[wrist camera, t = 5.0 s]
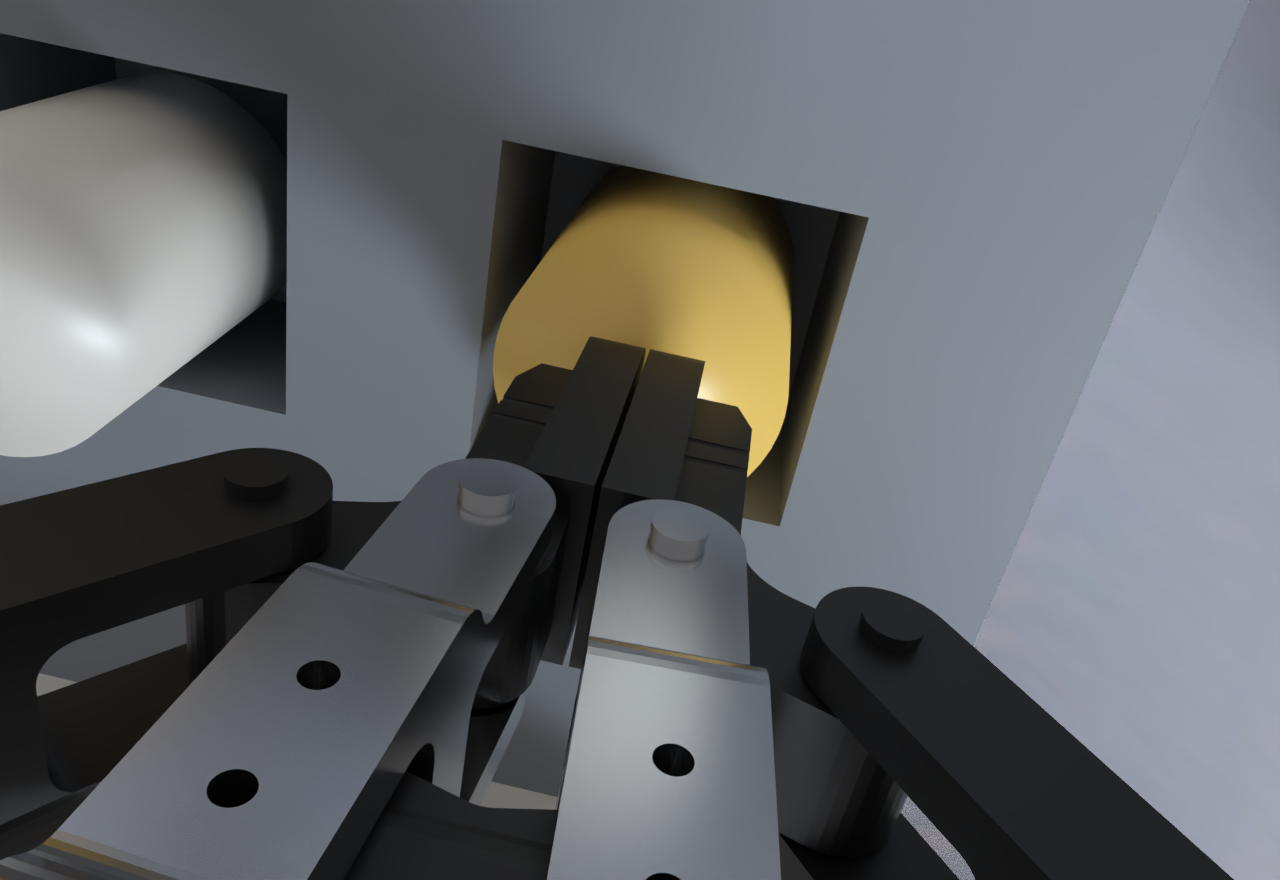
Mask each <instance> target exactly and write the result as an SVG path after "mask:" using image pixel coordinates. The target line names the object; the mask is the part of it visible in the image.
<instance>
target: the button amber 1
mask: <svg viewBox="0 0 1280 880" xmlns="http://www.w3.org/2000/svg"><path fill="white" fill-rule="evenodd" d="M793 269H794V258H793V247H792V242H791V238H790V234H789V230H788V228H787V225H786V222H785V220H784V217H783V216H782V214H781V212H780V210H779V208H778V206H777V205H776V203H775V202H774V201H773V199H772V198H771V197H770V196H765V195H760V194H755V193H751V192H746V191H741V190H737V189H732V188H727V187H723V186H718V185H713V184H708V183H704V182H699V181H694V180H690V179H685V178H680V177H675V176H671V175H666V174H661V173H657V172H652V171H647V170H642V169H638V168H633V167H628V166H624V165H622V166H620V167H618V168H616V169H615V170H613V171H612V172H611V173H609V174H608V175H607V176H606V177H604V178H603V179H602V180H601V181H600V182H599V183H598V184H597V185H596V186H595V187H594V188H593V189H592V190H591V192H590V193H589V195H588V196H587V197H586V199H585V200H584V202H583V203H582V204H581V206H580V207H579V209H578V210H577V211H576V213H575V214H574V216H573V217H572V218H571V220H570V221H569V223H568V224H567V225H566V227H565V228H564V230H563V231H562V232H561V234H560V235H559V237H558V238H557V239H556V241H555V242H554V244H553V245H552V246H551V248H550V249H549V251H548V252H547V253H546V255H545V256H544V258H543V259H542V260H541V262H540V263H539V265H538V266H537V267H536V269H535V270H534V272H533V273H532V274H531V276H530V277H529V279H528V280H527V281H526V283H525V284H524V285H523V287H522V288H521V290H520V291H519V292H518V294H517V295H516V297H515V298H514V299H513V301H512V302H511V304H510V306H509V308H508V310H507V312H506V314H505V315H504V317H503V319H502V322H501V325H500V328H499V331H498V334H497V338H496V343H495V349H494V357H493V376H494V387H495V392H496V396H497V400H498V404H499V403H500V401H501V400H503V396H504V394H505V393H506V391H507V389H508V388H509V386H510V385H511V383H512V381H513V380H514V378H515V377H516V376H517V375H519V374H521V373H523V372H525V371H527V370H529V369H531V368H533V367H535V366H537V365H539V364H541V363H543V364H547V365H552V366H556V367H561V368H565V369H570V370H573V369H574V367H575V365H576V363H577V361H578V359H579V357H580V355H581V353H582V351H583V349H584V347H585V345H586V343H587V341H588V339H589V337H590V336H593V337H598V338H602V339H607V340H611V341H616V342H620V343H625V344H629V345H634V346H638V347H643V348H646V354H645V361H644V365H645V362H646V359H647V356H648V354H649V351H650V349H653V350H657V351H662V352H666V353H671V354H675V355H680V356H684V357H689V358H693V359H698V360H702V361H705V365H704V370H703V374H702V379H701V383H700V387H699V392H698V396H697V398H701V399H705V400H710V401H714V402H719V403H723V404H728V405H732V406H737V407H738V408H739V409H740V411H741V412H742V414H743V416H744V417H745V419H746V420H747V422H748V424H749V425H750V427H751V428H752V436H751V445H750V452H749V463H748V471H747V477H748V476H749V475H750V474H751V473H752V472H753V471H754V470H755V469H756V468H757V467H758V466H759V465H760V464H761V462H762V461H763V460H764V458H765V457H766V455H767V454H768V453H769V451H770V450H771V448H772V446H773V444H774V443H775V441H776V439H777V437H778V435H779V433H780V430H781V427H782V424H783V421H784V418H785V414H786V409H787V404H788V396H789V374H790V348H791V321H792V295H793ZM643 368H644V366H643Z"/></svg>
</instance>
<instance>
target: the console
mask: <svg viewBox="0 0 1280 880" xmlns="http://www.w3.org/2000/svg"><path fill="white" fill-rule="evenodd" d="M1249 3H1250V0H0V111H3V110H7V109H10V108H14V107H18V106H21V105H25V104H29V103H32V102H36V101H39V100H43V99H47V98H50V97H54V96H57V95H61V94H65V93H68V92H72V91H75V90H79V89H83V88H86V87H90V86H94V85H97V84H101V83H104V82H108V81H112V80H115V79H119V78H122V77H126V76H130V75H134V74H140V73H147V72H164V73H171V74H178V75H182V76H186V77H189V78H193V79H196V80H198V81H201V82H203V83H206V84H208V85H210V86H212V87H214V88H216V89H218V90H219V91H221V92H223V93H225V94H226V95H228V96H229V97H231V98H232V99H234V100H235V101H236V102H238V103H239V104H240V105H242V106H243V107H244V108H245V109H246V110H247V111H248V112H250V113H251V114H252V115H253V116H254V117H255V118H256V119H257V120H258V121H259V122H260V123H261V125H262V126H263V127H264V128H265V129H266V130H267V131H268V133H269V134H270V135H271V137H272V138H273V140H274V141H275V142H276V144H277V145H278V147H279V148H280V150H281V152H282V154H283V155H284V157H285V159H286V161H287V282H286V283H285V284H284V286H283V287H282V288H281V289H280V290H279V292H277V293H276V294H275V295H274V296H273V297H272V298H271V299H270V300H268V301H267V302H266V303H264V304H263V305H262V306H260V307H259V308H258V309H257V310H255V311H254V312H253V313H251V314H250V315H249V316H247V317H246V318H245V319H243V320H242V321H241V322H240V323H238V324H237V325H236V326H234V327H233V328H232V329H230V330H229V331H228V332H226V333H225V334H224V335H223V336H221V337H220V338H219V339H217V340H216V341H215V342H213V343H212V344H211V345H209V346H208V347H207V348H206V349H204V350H203V351H202V352H200V353H199V354H198V355H196V356H195V357H194V358H193V359H191V360H190V361H189V362H187V363H186V364H185V365H183V366H182V367H181V368H179V369H178V370H177V371H176V372H174V373H173V374H172V375H170V376H169V377H168V378H166V379H165V380H164V381H162V382H161V383H160V384H159V385H157V386H156V387H155V388H153V389H152V390H151V391H149V392H148V393H147V394H145V395H144V396H143V397H142V398H140V399H139V400H138V401H136V402H135V403H134V404H132V405H131V406H130V407H128V408H127V409H126V410H125V411H123V412H122V413H121V414H119V415H118V416H117V417H115V418H114V419H113V420H111V421H110V422H109V423H108V424H106V425H105V426H104V427H102V428H101V429H100V430H98V431H97V432H96V433H94V434H93V435H92V436H91V437H89V438H88V439H86V440H85V441H83V442H81V443H80V444H78V445H76V446H75V447H72V448H70V449H67V450H65V451H62V452H59V453H55V454H50V455H46V456H37V457H10V456H3V455H0V505H4V504H9V503H13V502H17V501H21V500H25V499H29V498H33V497H38V496H42V495H46V494H50V493H54V492H58V491H62V490H67V489H71V488H75V487H79V486H83V485H87V484H92V483H96V482H100V481H104V480H108V479H112V478H116V477H121V476H125V475H129V474H133V473H137V472H141V471H145V470H150V469H154V468H158V467H162V466H166V465H170V464H174V463H179V462H183V461H187V460H191V459H195V458H199V457H204V456H208V455H212V454H216V453H220V452H224V451H230V450H235V449H244V448H273V449H280V450H286V451H290V452H294V453H298V454H301V455H303V456H306V457H308V458H310V459H312V460H314V461H316V462H317V463H319V464H320V465H321V466H322V467H324V468H325V470H326V471H327V472H328V473H329V475H330V477H331V479H332V483H333V501H357V502H393V501H402V500H403V499H404V498H405V496H406V495H407V494H408V493H409V492H410V490H411V489H412V488H413V487H414V486H415V484H416V483H417V482H418V481H419V480H420V479H421V477H422V476H423V475H424V474H425V473H427V472H428V471H429V470H431V469H432V468H434V467H436V466H438V465H441V464H443V463H446V462H450V461H454V460H460V459H465V458H466V456H467V455H468V453H469V452H470V450H471V448H472V447H473V445H474V443H475V442H476V440H477V438H478V437H479V435H480V434H481V432H482V430H483V429H484V427H485V425H486V424H487V422H488V420H489V419H490V417H491V416H493V414H494V411H495V409H496V407H497V406H498V400H497V396H496V392H495V387H494V376H493V357H494V349H495V343H496V338H497V334H498V331H499V328H500V325H501V322H502V319H503V317H504V315H505V314H506V312H507V310H508V308H509V306H510V304H511V302H512V301H513V299H514V298H515V297H516V295H517V294H518V292H519V291H520V290H521V288H522V287H523V285H524V284H525V283H526V281H527V280H528V279H529V277H530V276H531V274H532V273H533V272H534V270H535V269H536V267H537V266H538V265H539V263H540V262H541V260H542V259H543V258H544V256H545V255H546V253H547V252H548V251H549V249H550V248H551V246H552V245H553V244H554V242H555V241H556V239H557V238H558V237H559V235H560V234H561V232H562V231H563V230H564V228H565V227H566V225H567V224H568V223H569V221H570V220H571V218H572V217H573V216H574V214H575V213H576V211H577V210H578V209H579V207H580V206H581V204H582V203H583V202H584V200H585V199H586V197H587V196H588V195H589V193H590V192H591V190H592V189H593V188H594V187H595V186H596V185H597V184H598V183H599V182H600V181H601V180H602V179H603V178H604V177H606V176H607V175H608V174H609V173H611V172H612V171H613V170H615V169H616V168H618V167H620V166H622V165H624V166H628V167H633V168H638V169H642V170H647V171H652V172H657V173H661V174H666V175H671V176H675V177H680V178H685V179H690V180H694V181H699V182H704V183H708V184H713V185H718V186H723V187H727V188H732V189H737V190H741V191H746V192H751V193H755V194H760V195H765V196H770V197H771V198H772V199H773V201H774V202H775V203H776V205H777V206H778V208H779V210H780V212H781V214H782V216H783V217H784V220H785V222H786V225H787V228H788V230H789V234H790V238H791V242H792V247H793V258H794V269H793V295H792V321H791V348H790V374H789V396H788V404H787V409H786V414H785V418H784V421H783V424H782V427H781V430H780V433H779V435H778V437H777V439H776V441H775V443H774V444H773V446H772V448H771V450H770V451H769V453H768V454H767V455H766V457H765V458H764V460H763V461H762V462H761V464H760V465H759V466H758V467H757V468H756V469H755V470H754V471H753V472H752V473H751V474H750V475H749V476H748V477H747V482H746V491H745V500H744V509H743V518H742V528H741V537H742V539H743V541H744V543H745V547H746V557H747V563H748V564H749V566H750V567H751V568H752V570H753V571H754V572H755V573H756V574H757V575H758V576H759V577H760V578H762V579H763V580H764V581H765V582H767V583H768V584H769V585H770V586H772V587H774V588H775V589H777V590H778V591H780V592H782V593H784V594H786V595H788V596H789V597H791V598H793V599H796V600H798V601H800V602H802V603H804V604H807V605H809V606H811V607H813V608H815V609H816V607H817V605H818V603H819V601H820V600H821V599H822V598H823V597H824V596H825V595H827V594H829V593H830V592H832V591H835V590H838V589H841V588H847V587H860V586H863V587H874V588H879V589H884V590H888V591H892V592H895V593H898V594H901V595H903V596H906V597H908V598H911V599H913V600H915V601H917V602H919V603H921V604H922V605H924V606H926V607H927V608H929V609H930V610H932V611H933V612H934V613H936V614H937V615H938V616H939V617H941V618H942V619H943V620H944V621H945V622H947V623H948V624H949V625H950V626H951V627H952V628H953V629H954V630H955V631H957V632H958V633H959V634H960V635H961V636H962V637H963V638H964V639H965V640H967V641H968V642H969V643H970V644H971V645H972V646H973V643H974V641H975V639H976V636H977V634H978V632H979V629H980V627H981V625H982V622H983V620H984V618H985V615H986V613H987V611H988V608H989V606H990V604H991V602H992V599H993V597H994V595H995V592H996V590H997V588H998V585H999V583H1000V581H1001V578H1002V576H1003V574H1004V571H1005V569H1006V567H1007V564H1008V562H1009V560H1010V557H1011V555H1012V553H1013V550H1014V548H1015V546H1016V543H1017V541H1018V539H1019V537H1020V534H1021V532H1022V530H1023V527H1024V525H1025V523H1026V520H1027V518H1028V516H1029V513H1030V511H1031V509H1032V506H1033V504H1034V502H1035V499H1036V497H1037V495H1038V492H1039V490H1040V488H1041V485H1042V483H1043V481H1044V478H1045V476H1046V474H1047V472H1048V469H1049V467H1050V465H1051V462H1052V460H1053V458H1054V455H1055V453H1056V451H1057V448H1058V446H1059V444H1060V441H1061V439H1062V437H1063V434H1064V432H1065V430H1066V427H1067V425H1068V423H1069V420H1070V418H1071V416H1072V413H1073V411H1074V409H1075V407H1076V404H1077V402H1078V400H1079V397H1080V395H1081V393H1082V390H1083V388H1084V386H1085V383H1086V381H1087V379H1088V376H1089V374H1090V372H1091V369H1092V367H1093V365H1094V362H1095V360H1096V358H1097V355H1098V353H1099V351H1100V348H1101V346H1102V344H1103V342H1104V339H1105V337H1106V335H1107V332H1108V330H1109V328H1110V325H1111V323H1112V321H1113V318H1114V316H1115V314H1116V311H1117V309H1118V307H1119V304H1120V302H1121V300H1122V297H1123V295H1124V293H1125V290H1126V288H1127V286H1128V283H1129V281H1130V279H1131V277H1132V274H1133V272H1134V270H1135V267H1136V265H1137V263H1138V260H1139V258H1140V256H1141V253H1142V251H1143V249H1144V246H1145V244H1146V242H1147V239H1148V237H1149V235H1150V232H1151V230H1152V228H1153V225H1154V223H1155V221H1156V218H1157V216H1158V214H1159V212H1160V209H1161V207H1162V205H1163V202H1164V200H1165V198H1166V195H1167V193H1168V191H1169V188H1170V186H1171V184H1172V181H1173V179H1174V177H1175V174H1176V172H1177V170H1178V167H1179V165H1180V163H1181V160H1182V158H1183V156H1184V153H1185V151H1186V149H1187V147H1188V144H1189V142H1190V140H1191V137H1192V135H1193V133H1194V130H1195V128H1196V126H1197V123H1198V121H1199V119H1200V116H1201V114H1202V112H1203V109H1204V107H1205V105H1206V102H1207V100H1208V98H1209V95H1210V93H1211V91H1212V88H1213V86H1214V84H1215V82H1216V79H1217V77H1218V75H1219V72H1220V70H1221V68H1222V65H1223V63H1224V61H1225V58H1226V56H1227V54H1228V51H1229V49H1230V47H1231V44H1232V42H1233V40H1234V37H1235V35H1236V33H1237V30H1238V28H1239V26H1240V23H1241V21H1242V19H1243V16H1244V14H1245V12H1246V10H1247V7H1248V5H1249ZM576 624H577V622H576ZM575 629H576V625H575V628H574V631H573V634H572V637H571V641H570V644H569V647H568V650H567V653H566V656H565V659H564V662H563V665H559V664H555V663H550V662H546V661H542V660H540V663H539V665H538V668H537V671H536V674H535V677H534V679H533V681H532V683H531V685H530V686H529V687H528V689H527V690H526V696H525V703H524V709H523V712H522V715H521V718H520V720H519V722H518V725H517V727H516V729H515V731H514V733H513V735H512V737H511V739H510V742H509V744H508V746H507V748H506V750H505V752H504V754H503V757H502V759H501V761H500V763H499V765H498V767H497V769H496V772H495V774H494V776H493V778H492V780H491V782H490V784H489V787H488V789H487V791H486V793H485V795H484V797H483V799H482V801H481V804H480V806H483V807H489V808H513V809H550V810H555V807H556V802H557V796H558V791H559V785H560V780H561V774H562V769H563V763H564V758H565V752H566V747H567V741H568V735H569V730H570V725H571V719H572V714H573V709H574V704H575V699H576V694H577V689H578V684H579V678H580V673H581V669H577V668H573V667H569V662H570V656H571V651H572V645H573V640H574V634H575ZM186 643H187V638H186V620H185V604H183V605H180V606H177V607H174V608H171V609H168V610H165V611H162V612H159V613H156V614H153V615H150V616H147V617H144V618H141V619H138V620H135V621H132V622H129V623H126V624H123V625H120V626H117V627H114V628H111V629H108V630H105V631H102V632H99V633H96V634H93V635H90V636H87V637H84V638H81V639H79V640H76V641H74V642H71V643H69V644H68V645H66V646H64V647H63V648H61V649H60V650H58V651H57V652H56V653H55V654H53V655H52V656H51V657H50V658H49V659H48V660H47V662H46V663H45V664H44V665H43V667H42V669H41V670H40V672H39V675H38V677H37V681H36V692H37V696H40V695H43V694H46V693H49V692H52V691H55V690H57V689H60V688H63V687H66V686H69V685H71V684H74V683H77V682H80V681H83V680H85V679H88V678H91V677H94V676H97V675H99V674H102V673H105V672H108V671H111V670H113V669H116V668H119V667H122V666H125V665H127V664H130V663H133V662H136V661H139V660H141V659H144V658H147V657H150V656H153V655H155V654H158V653H161V652H164V651H167V650H169V649H172V648H175V647H178V646H180V645H183V644H186ZM907 797H908V796H907ZM906 799H907V798H906ZM905 801H906V800H905ZM903 806H904V805H903ZM902 808H903V807H902ZM900 813H901V812H900Z"/></svg>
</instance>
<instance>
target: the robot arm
mask: <svg viewBox="0 0 1280 880" xmlns="http://www.w3.org/2000/svg"><path fill="white" fill-rule="evenodd" d="M645 354H646V348H643V347H638V346H634V345H629V344H625V343H620V342H616V341H611V340H607V339H602V338H598V337H593V336H590V337H589V339H588V341H587V343H586V345H585V347H584V349H583V351H582V353H581V355H580V357H579V359H578V361H577V363H576V365H575V367H574V369H573V370H570V369H565V368H561V367H556V366H552V365H547V364H543V363H541V364H539V365H537V366H535V367H533V368H531V369H529V370H527V371H525V372H523V373H521V374H519V375H517V376H516V377H515V378H514V380H513V381H512V383H511V385H510V386H509V388H508V389H507V391H506V393H505V394H504V396H503V400H501V401H500V403H499V404H498V406H497V407H496V409H495V411H494V414H493V416H491V417H490V419H489V420H488V422H487V424H486V425H485V427H484V429H483V430H482V432H481V434H480V435H479V437H478V438H477V440H476V442H475V443H474V445H473V447H472V448H471V450H470V452H469V453H468V455H467V456H466V458H465V459H460V460H454V461H450V462H446V463H443V464H441V465H438V466H436V467H434V468H432V469H431V470H429V471H428V472H427V473H425V474H424V475H423V476H422V477H421V479H420V480H419V481H418V482H417V483H416V484H415V486H414V487H413V488H412V489H411V490H410V492H409V493H408V494H407V495H406V496H405V498H404V499H403V500H402V501H393V502H357V501H333V483H332V479H331V477H330V475H329V473H328V472H327V471H326V470H325V468H324V467H322V466H321V465H320V464H319V463H317V462H316V461H314V460H312V459H310V458H308V457H306V456H303V455H301V454H298V453H294V452H290V451H286V450H280V449H273V448H244V449H235V450H230V451H224V452H220V453H216V454H212V455H208V456H204V457H199V458H195V459H191V460H187V461H183V462H179V463H174V464H170V465H166V466H162V467H158V468H154V469H150V470H145V471H141V472H137V473H133V474H129V475H125V476H121V477H116V478H112V479H108V480H104V481H100V482H96V483H92V484H87V485H83V486H79V487H75V488H71V489H67V490H62V491H58V492H54V493H50V494H46V495H42V496H38V497H33V498H29V499H25V500H21V501H17V502H13V503H9V504H4V505H0V880H959V879H958V877H957V876H956V875H955V874H954V873H953V872H952V871H951V869H950V868H949V867H948V866H947V865H946V864H945V863H944V862H943V860H942V859H941V858H940V857H939V856H938V855H937V854H936V852H935V851H934V850H933V849H932V848H931V847H930V846H929V845H928V843H927V842H926V841H925V840H924V839H923V838H922V837H921V835H920V834H919V833H918V832H917V831H916V830H915V829H914V827H913V826H912V825H911V824H910V823H909V822H908V821H907V820H906V818H905V817H904V816H903V815H902V814H901V813H900V812H901V810H902V807H903V805H904V803H905V800H906V798H907V796H908V797H909V798H910V799H911V800H912V801H913V802H914V803H915V804H916V805H917V807H918V808H919V809H920V810H921V811H922V812H923V813H924V814H925V815H926V816H927V818H928V819H929V820H930V821H931V822H932V823H933V824H934V825H935V826H936V828H937V829H938V830H939V831H940V832H941V833H942V834H943V835H944V836H945V838H946V839H947V840H948V841H949V842H950V843H951V844H952V845H953V846H954V848H955V849H956V850H957V851H958V852H959V853H960V854H961V856H962V857H963V858H964V859H965V861H966V862H967V864H968V866H969V867H970V869H971V871H972V873H973V875H974V877H975V880H1234V879H1232V878H1231V877H1230V876H1229V875H1228V874H1227V873H1226V872H1225V871H1224V870H1222V869H1221V868H1220V867H1219V866H1218V865H1217V864H1216V863H1215V862H1213V861H1212V860H1211V859H1210V858H1209V857H1208V856H1207V855H1206V854H1205V853H1203V852H1202V851H1201V850H1200V849H1199V848H1198V847H1197V846H1196V845H1194V844H1193V843H1192V842H1191V841H1190V840H1189V839H1188V838H1187V837H1186V836H1184V835H1183V834H1182V833H1181V832H1180V831H1179V830H1178V829H1177V828H1175V827H1174V826H1173V825H1172V824H1171V823H1170V822H1169V821H1168V820H1167V819H1165V818H1164V817H1163V816H1162V815H1161V814H1160V813H1159V812H1158V811H1156V810H1155V809H1154V808H1153V807H1152V806H1151V805H1150V804H1149V803H1148V802H1146V801H1145V800H1144V799H1143V798H1142V797H1141V796H1140V795H1139V794H1138V793H1136V792H1135V791H1134V790H1133V789H1132V788H1131V787H1130V786H1129V785H1127V784H1126V783H1125V782H1124V781H1123V780H1122V779H1121V778H1120V777H1119V776H1117V775H1116V774H1115V773H1114V772H1113V771H1112V770H1111V769H1110V768H1108V767H1107V766H1106V765H1105V764H1104V763H1103V762H1102V761H1101V760H1100V759H1098V758H1097V757H1096V756H1095V755H1094V754H1093V753H1092V752H1091V751H1089V750H1088V749H1087V748H1086V747H1085V746H1084V745H1083V744H1082V743H1081V742H1079V741H1078V740H1077V739H1076V738H1075V737H1074V736H1073V735H1072V734H1070V733H1069V732H1068V731H1067V730H1066V729H1065V728H1064V727H1063V726H1062V725H1060V724H1059V723H1058V722H1057V721H1056V720H1055V719H1054V718H1053V717H1052V716H1050V715H1049V714H1048V713H1047V712H1046V711H1045V710H1044V709H1043V708H1041V707H1040V706H1039V705H1038V704H1037V703H1036V702H1035V701H1034V700H1033V699H1031V698H1030V697H1029V696H1028V695H1027V694H1026V693H1025V692H1024V691H1022V690H1021V689H1020V688H1019V687H1018V686H1017V685H1016V684H1015V683H1014V682H1012V681H1011V680H1010V679H1009V678H1008V677H1007V676H1006V675H1005V674H1003V673H1002V672H1001V671H1000V670H999V669H998V668H997V667H996V666H995V665H993V664H992V663H991V662H990V661H989V660H988V659H987V658H986V657H984V656H983V655H982V654H981V653H980V652H979V651H978V650H977V649H976V648H974V647H973V646H972V645H971V644H970V643H969V642H968V641H967V640H965V639H964V638H963V637H962V636H961V635H960V634H959V633H958V632H957V631H955V630H954V629H953V628H952V627H951V626H950V625H949V624H948V623H947V622H945V621H944V620H943V619H942V618H941V617H939V616H938V615H937V614H936V613H934V612H933V611H932V610H930V609H929V608H927V607H926V606H924V605H922V604H921V603H919V602H917V601H915V600H913V599H911V598H908V597H906V596H903V595H901V594H898V593H895V592H892V591H888V590H884V589H879V588H874V587H863V586H860V587H847V588H841V589H838V590H835V591H832V592H830V593H829V594H827V595H825V596H824V597H823V598H822V599H821V600H820V601H819V603H818V605H817V607H816V609H815V608H813V607H811V606H809V605H807V604H804V603H802V602H800V601H798V600H796V599H793V598H791V597H789V596H788V595H786V594H784V593H782V592H780V591H778V590H777V589H775V588H774V587H772V586H770V585H769V584H768V583H767V582H765V581H764V580H763V579H762V578H760V577H759V576H758V575H757V574H756V573H755V572H754V571H753V570H752V568H751V567H750V566H749V564H748V563H747V557H746V547H745V543H744V541H743V539H742V537H741V528H742V518H743V509H744V500H745V491H746V482H747V471H748V463H749V452H750V445H751V436H752V428H751V427H750V425H749V424H748V422H747V420H746V419H745V417H744V416H743V414H742V412H741V411H740V409H739V408H738V407H737V406H732V405H728V404H723V403H719V402H714V401H710V400H705V399H701V398H697V396H698V392H699V387H700V383H701V379H702V374H703V370H704V365H705V361H702V360H698V359H693V358H689V357H684V356H680V355H675V354H671V353H666V352H662V351H657V350H653V349H650V351H649V354H648V356H647V359H646V362H645V365H644V361H645ZM643 366H644V368H643ZM183 604H185V620H186V638H187V643H186V644H183V645H180V646H178V647H175V648H172V649H169V650H167V651H164V652H161V653H158V654H155V655H153V656H150V657H147V658H144V659H141V660H139V661H136V662H133V663H130V664H127V665H125V666H122V667H119V668H116V669H113V670H111V671H108V672H105V673H102V674H99V675H97V676H94V677H91V678H88V679H85V680H83V681H80V682H77V683H74V684H71V685H69V686H66V687H63V688H60V689H57V690H55V691H52V692H49V693H46V694H43V695H40V696H37V692H36V681H37V677H38V675H39V672H40V670H41V669H42V667H43V665H44V664H45V663H46V662H47V660H48V659H49V658H50V657H51V656H52V655H53V654H55V653H56V652H57V651H58V650H60V649H61V648H63V647H64V646H66V645H68V644H69V643H71V642H74V641H76V640H79V639H81V638H84V637H87V636H90V635H93V634H96V633H99V632H102V631H105V630H108V629H111V628H114V627H117V626H120V625H123V624H126V623H129V622H132V621H135V620H138V619H141V618H144V617H147V616H150V615H153V614H156V613H159V612H162V611H165V610H168V609H171V608H174V607H177V606H180V605H183ZM576 622H577V624H576ZM575 625H576V629H575V634H574V640H573V645H572V651H571V656H570V662H569V667H573V668H577V669H581V673H580V678H579V684H578V689H577V694H576V699H575V704H574V709H573V714H572V719H571V725H570V730H569V735H568V741H567V747H566V752H565V758H564V763H563V769H562V774H561V780H560V785H559V791H558V796H557V802H556V807H555V810H550V809H513V808H489V807H483V806H480V804H481V801H482V799H483V797H484V795H485V793H486V791H487V789H488V787H489V784H490V782H491V780H492V778H493V776H494V774H495V772H496V769H497V767H498V765H499V763H500V761H501V759H502V757H503V754H504V752H505V750H506V748H507V746H508V744H509V742H510V739H511V737H512V735H513V733H514V731H515V729H516V727H517V725H518V722H519V720H520V718H521V715H522V712H523V709H524V703H525V696H526V690H527V689H528V687H529V686H530V685H531V683H532V681H533V679H534V677H535V674H536V671H537V668H538V665H539V663H540V660H542V661H546V662H550V663H555V664H559V665H563V662H564V659H565V656H566V653H567V650H568V647H569V644H570V641H571V637H572V634H573V631H574V628H575Z"/></svg>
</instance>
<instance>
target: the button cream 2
mask: <svg viewBox="0 0 1280 880" xmlns="http://www.w3.org/2000/svg"><path fill="white" fill-rule="evenodd" d="M286 282H287V161H286V159H285V157H284V155H283V154H282V152H281V150H280V148H279V147H278V145H277V144H276V142H275V141H274V140H273V138H272V137H271V135H270V134H269V133H268V131H267V130H266V129H265V128H264V127H263V126H262V125H261V123H260V122H259V121H258V120H257V119H256V118H255V117H254V116H253V115H252V114H251V113H250V112H248V111H247V110H246V109H245V108H244V107H243V106H242V105H240V104H239V103H238V102H236V101H235V100H234V99H232V98H231V97H229V96H228V95H226V94H225V93H223V92H221V91H219V90H218V89H216V88H214V87H212V86H210V85H208V84H206V83H203V82H201V81H198V80H196V79H193V78H189V77H186V76H182V75H178V74H171V73H164V72H147V73H140V74H134V75H130V76H126V77H122V78H119V79H115V80H112V81H108V82H104V83H101V84H97V85H94V86H90V87H86V88H83V89H79V90H75V91H72V92H68V93H65V94H61V95H57V96H54V97H50V98H47V99H43V100H39V101H36V102H32V103H29V104H25V105H21V106H18V107H14V108H10V109H7V110H3V111H0V455H3V456H10V457H37V456H46V455H50V454H55V453H59V452H62V451H65V450H67V449H70V448H72V447H75V446H76V445H78V444H80V443H81V442H83V441H85V440H86V439H88V438H89V437H91V436H92V435H93V434H94V433H96V432H97V431H98V430H100V429H101V428H102V427H104V426H105V425H106V424H108V423H109V422H110V421H111V420H113V419H114V418H115V417H117V416H118V415H119V414H121V413H122V412H123V411H125V410H126V409H127V408H128V407H130V406H131V405H132V404H134V403H135V402H136V401H138V400H139V399H140V398H142V397H143V396H144V395H145V394H147V393H148V392H149V391H151V390H152V389H153V388H155V387H156V386H157V385H159V384H160V383H161V382H162V381H164V380H165V379H166V378H168V377H169V376H170V375H172V374H173V373H174V372H176V371H177V370H178V369H179V368H181V367H182V366H183V365H185V364H186V363H187V362H189V361H190V360H191V359H193V358H194V357H195V356H196V355H198V354H199V353H200V352H202V351H203V350H204V349H206V348H207V347H208V346H209V345H211V344H212V343H213V342H215V341H216V340H217V339H219V338H220V337H221V336H223V335H224V334H225V333H226V332H228V331H229V330H230V329H232V328H233V327H234V326H236V325H237V324H238V323H240V322H241V321H242V320H243V319H245V318H246V317H247V316H249V315H250V314H251V313H253V312H254V311H255V310H257V309H258V308H259V307H260V306H262V305H263V304H264V303H266V302H267V301H268V300H270V299H271V298H272V297H273V296H274V295H275V294H276V293H277V292H279V290H280V289H281V288H282V287H283V286H284V284H285V283H286Z"/></svg>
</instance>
